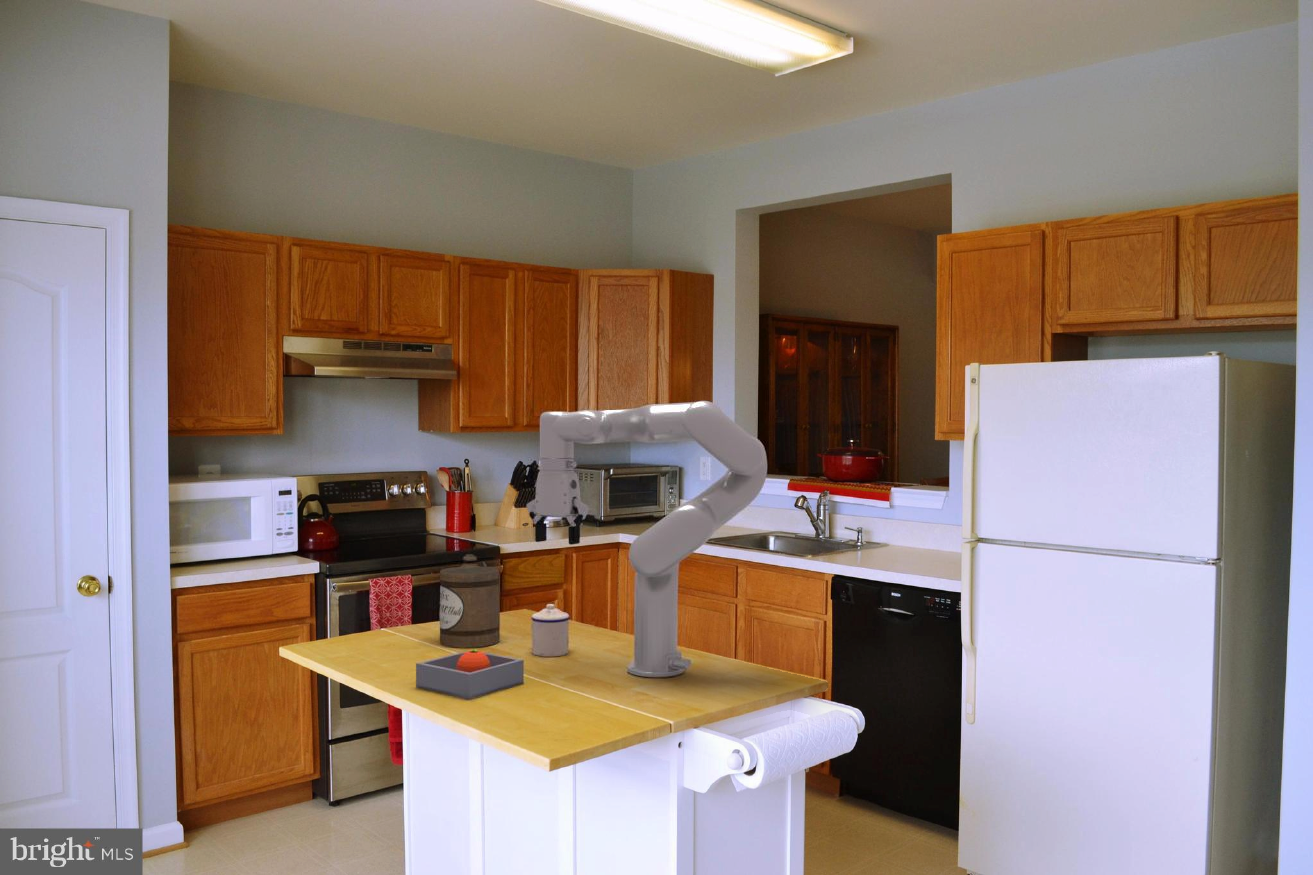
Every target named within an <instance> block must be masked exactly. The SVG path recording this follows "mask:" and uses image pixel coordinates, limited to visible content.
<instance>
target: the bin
mask: <svg viewBox="0 0 1313 875" xmlns="http://www.w3.org/2000/svg"><path fill="white" fill-rule="evenodd" d="M471 650H472V649H469V650H465V651H462V652H457V653H453V654H449V655H444V656H440V657H436V658H432V659H428V660H425V661H424V660H423V661H421V662H416V663H415V688H416V689H420V690H425V691H429V692H434V693H437V694H438V693H439V694H443V695H447V696H452V697H456V698H461V699H465V700H473V699H477V698H479V697H480V698H481V697H482V696H486V695H490V694H495V693H497V692H500V691H502V690H507V689H510V688H512V687H513V688H514V687H517V686H520V685H523V684H524V682H525V681H524V679H525V678H524V677H525V675H524V674H525V670H524V669H525V664H524V662H525V661H524V660H525V659H522V658H517V657H511V656H510V657H509V656H504V655H500V654H494V653H489V652H483V651H482V652H483V653H484V654H485V655H486V656H487V657H488V659H489V661H490V667H489V668H485V669H482V670H478V671H474V672H471V673H469V672H464V671H459V670H457V662H458V660H459V658H460V657H461V656H462V655H463V654H464V653H465V652H467V651H471Z"/></svg>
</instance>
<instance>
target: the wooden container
mask: <svg viewBox="0 0 1313 875" xmlns="http://www.w3.org/2000/svg"><path fill="white" fill-rule="evenodd" d="M462 560H463V564H462V565H461V566H457V567H456V566H455V567H454V566H453V567H448V568H443V569H440V570H439V583H440V587H439V588H440V589H439V592H440V593H439V643H440V645H441V646H445V647H449V648H456V649H457V648H458V649H475V648H474V647H477V648H484V647H489V645H490V646H492V645H493V644H494V645H496V644H498V643H499V642H500V639H501V638H500V637H501V636H500V634H501V628H500V627H501V626H500V625H501V624H500V623H501V614H500V613H501V612H500V609H501V608H500V583H499V582H500V573H499V572H500V571H499V568H497V567H491V566H479V565H478V564H477V563H476V562H477V560H478V559H477V556H476V555H474V554H471V553H470V554H469V553H468V554H465V556H463V558H462ZM494 645H493V646H494Z"/></svg>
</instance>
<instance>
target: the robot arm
mask: <svg viewBox="0 0 1313 875" xmlns="http://www.w3.org/2000/svg"><path fill="white" fill-rule="evenodd" d="M693 441H695V442H696V443H697V444H698V445H699V446H700V447H701V448H702V449H704V450H705V451H706V452H707V453H709V455H711V456H712V457H713V458H715V459H716V460H717V461H718V462H719V463H721V464H722V465H723V466H725V468H727V469H728V470H727V471H726V472H725V474H724V475H722V476H721V477H720V478H719V479H718V480H716V481H715V482H714V483H713V484H712V485H710V486H709V487H708V488H706V489H705V490H704V491H702V492H701V493H699V494H698V495H696V496H695V497H694V498H691V499H690V500H688V501H686V502H684V503H682V504H681V505H679V506H678V507H676V508H675V509H674V510H672V511H671V512H670V513H668V514H667V515H665V517H662V518H661V519H660V520H659V521H658V522H656V523H655V524H654V525H652V526H651V527H650V528H648V529H647V530H645V531H643V532H642V533H641V534H640V535H638V536H637V537H635V539H634V540H633V541H632V543H631V545H630V547H629V549H628V560H629V563H630V565H631V567H632V569H633V570H634V571H635V577H634V578H635V579H634V623H633V624H634V632H633V634H634V636H633V637H634V641H633V643H634V649H633V650H634V652H633V653H634V654H633V656H634V657H633V658H634V661H632V662H629V664H627V667H626V668H627V669H626V671H627V672H628V673H629V674H631V675H633V676H638V677H643V678H669V677H675V676H678V675H681V674H683V673H684V672H685V670H689V669H690V667H691V666H690V665H691V662H692V660H691V659H690V658H683V657H682V651H680V650H678V602H679V600H678V599H679V598H678V596H679V595H678V594H679V593H678V592H679V590H678V589H679V568H680V567H679V566H680V562H682V561H683V560H684V559H686V558H688V556H690V555H692V553H694V552H696V551H697V550H698V549H699V548H701V547H702V546H703V545H705V544H706V543H707V542H708V541H709V540H710V539H711V538H712V536H713V535H714V533H715V532H717V531H718V530H719V529H720V528H722V527H723V526H724V525H726V524H727V523H728V522H730V520H732V519H733V518H735V517H736V516H737V515H739V514H740V513H741V512H742V511H744V510H745V508H747V507H748V506H749V505H751V503H752V502H753V501H754V500H756V498H757V497H758V496H759V494H760V493H761V491H762V489H763V487H764V484H765V482H766V478H767V474H768V459H767V452H766V450H765V446H764V445H763V443H762V442H761V441H760V439H758V438H757V437H755V436H752V435H751V434H749V432H747V431H746V430H745V429H743V428H742V427H741V426H739V424H737V423H736V422H735V421H733V420H732V419H731V418H730V417H729V416H727V414H725V413H724V412H723V410H722V409H721V407H720V406H718V404H716V403H714V402H712V401H708V400H700V401H693V402H676V403H658V404H657V403H654V404H646V405H643V406H640V407H635V408H627V409H625V408H624V409H615V410H614V409H612V410H611V409H610V410H591V409H585V410H577V411H570V412H569V411H545V412H542V413H541V414H540V418H539V472H538V475H537V479H536V487H535V498H534V499H532V500H531V501H529V502H528V503H526V505H525V506H526V508H527V512H528V516H529V517H530V519H531V520H532V524H534V530H535V532H534V537H535V538H534V540H535V543H541V542H546V541H547V537H548V536H547V532H548V531H547V523H545V521H546V520H547V519H548V518H565V519H566V520H567V522H568V523H569V524H570V525H569V526H568V529H567V530H568V534H567V535H568V544H569V545H571V546H573V545H577V544H580V543H581V541H580V540H581V526H583V522H584V521H585V520H586V519H587V515H588V513H589V510H590V507H589V506H588V505H587V504H586V503H584V502H583V501H582V499H581V489H580V481H579V477H578V474H577V472H574V468H576V467H577V466H578V464H577V461H575V459H574V458H575V457H574V456H575V455H574V454H575V453H574V452H575V451H574V446H575V444H574V443H576V444H585V445H591V444H592V445H593V444H605V443H606V444H608V443H609V444H610V443H629V442H633V443H634V442H639V443H646V444H651V443H652V444H654V443H656V444H657V443H673V442H674V443H675V442H693Z"/></svg>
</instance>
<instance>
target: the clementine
mask: <svg viewBox="0 0 1313 875" xmlns="http://www.w3.org/2000/svg"><path fill="white" fill-rule="evenodd" d="M470 650H471V651H469V650H466V651H467V652H465V651H464V652H465V653H464V654H463V655H462V656H461V657H460V658H459V660H458V662H457V670H459V671H464V672H469V673H471V672H474V671H478V670H482V669H485V668H489V667H490V661H489V659H488V657H487V656H486V655H485V654H484V653H483V651H482V650H479V649H470Z"/></svg>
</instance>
